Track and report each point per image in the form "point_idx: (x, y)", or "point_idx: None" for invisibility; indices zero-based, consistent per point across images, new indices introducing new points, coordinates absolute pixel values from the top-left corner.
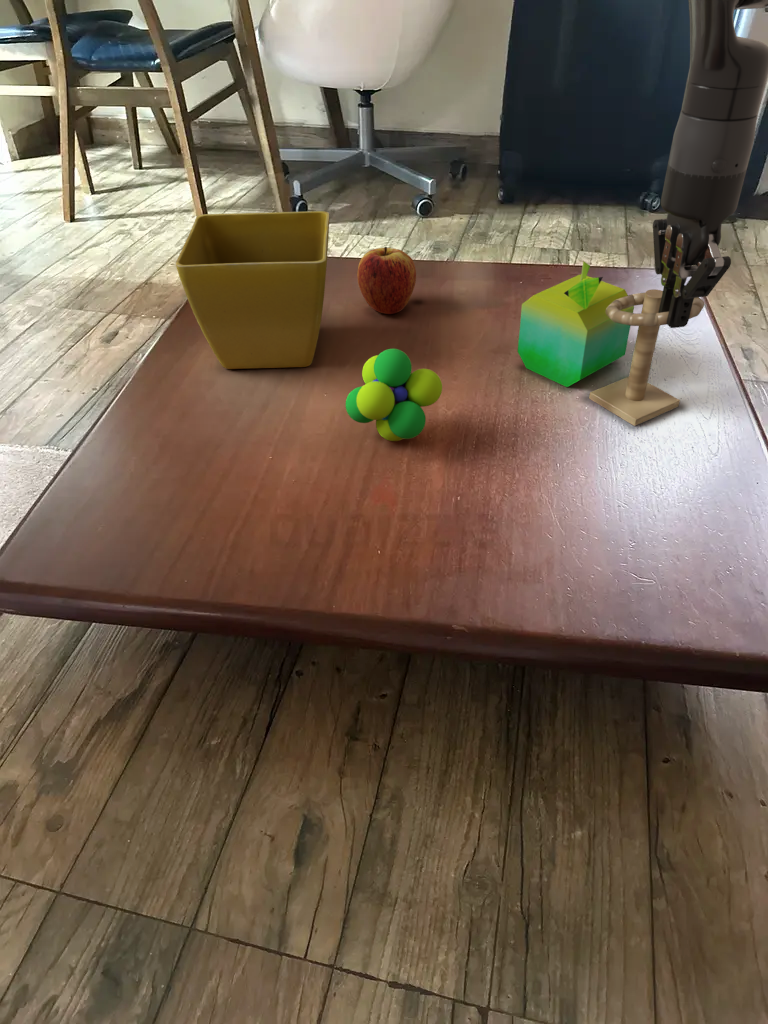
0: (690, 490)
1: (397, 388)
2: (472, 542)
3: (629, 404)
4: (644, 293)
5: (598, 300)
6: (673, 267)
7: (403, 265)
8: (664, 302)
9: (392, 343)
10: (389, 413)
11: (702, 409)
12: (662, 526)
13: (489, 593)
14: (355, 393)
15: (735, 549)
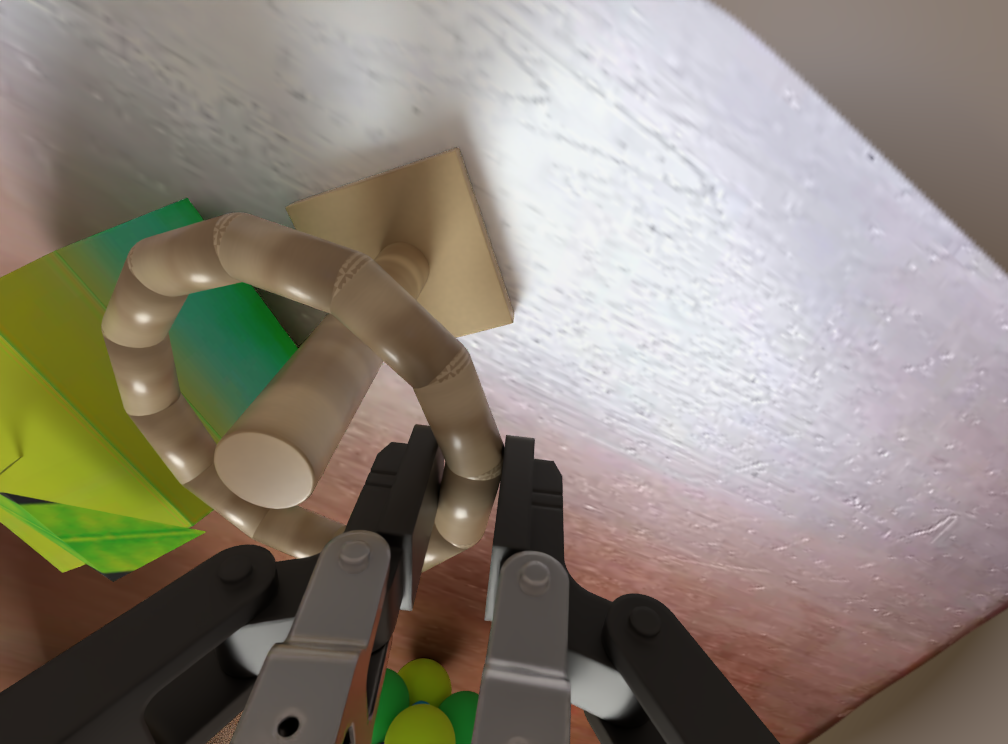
0: (794, 330)
1: None
2: (713, 661)
3: (441, 302)
4: (129, 374)
5: (92, 434)
6: (370, 727)
7: None
8: (427, 548)
9: (97, 587)
10: None
11: (492, 77)
12: (852, 438)
13: (816, 676)
14: None
15: (1004, 355)
